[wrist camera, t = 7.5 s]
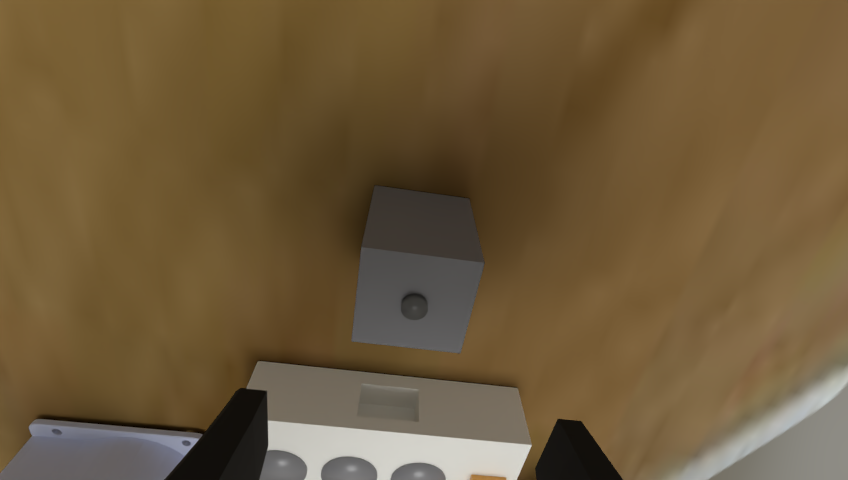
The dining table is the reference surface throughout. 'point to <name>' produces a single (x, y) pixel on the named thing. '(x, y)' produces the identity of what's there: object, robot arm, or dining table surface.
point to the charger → (417, 271)
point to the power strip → (387, 426)
